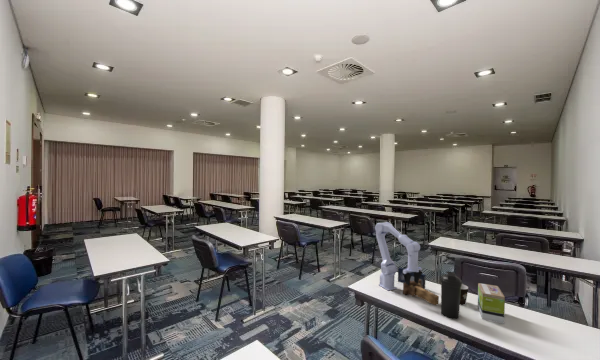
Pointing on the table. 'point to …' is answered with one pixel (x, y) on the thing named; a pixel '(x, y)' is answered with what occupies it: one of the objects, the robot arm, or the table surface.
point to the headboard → (411, 287)
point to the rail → (426, 295)
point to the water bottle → (450, 295)
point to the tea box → (491, 303)
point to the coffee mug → (463, 294)
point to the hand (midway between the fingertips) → (411, 283)
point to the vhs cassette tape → (402, 279)
